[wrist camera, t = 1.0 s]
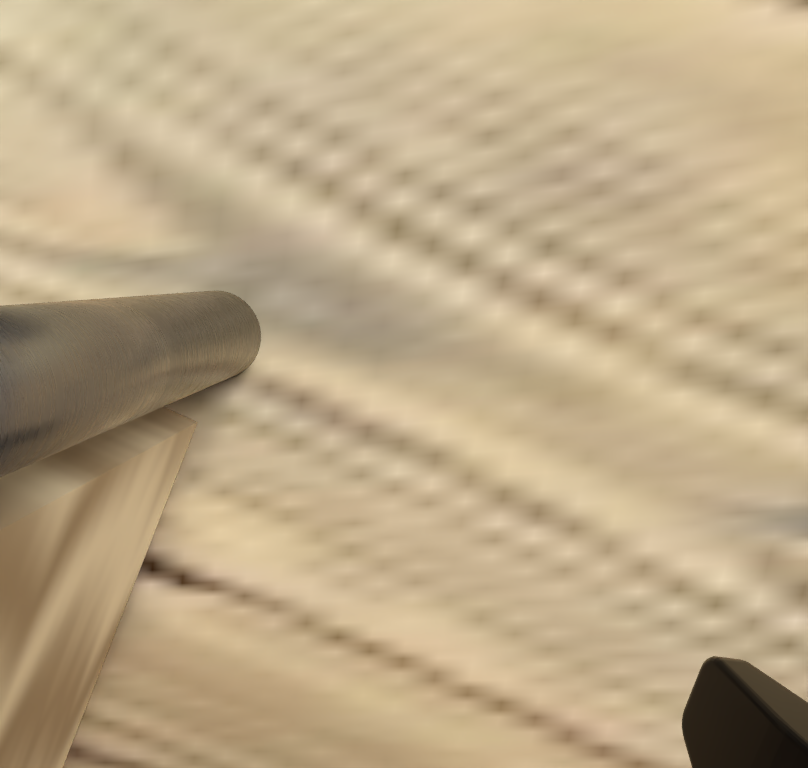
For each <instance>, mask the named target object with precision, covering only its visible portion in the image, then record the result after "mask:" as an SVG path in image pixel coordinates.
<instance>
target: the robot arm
mask: <svg viewBox="0 0 808 768" xmlns="http://www.w3.org/2000/svg"><path fill="white" fill-rule="evenodd" d="M682 730H683V736H684V740H685V744H686V747H687V751H688V754H689V758H690V761H691V765H692V768H808V702H806V701H805V700H803V699H802V698H800V697H799V696H797V695H796V694H794V693H793V692H791V691H790V690H788V689H787V688H785V687H784V686H782V685H781V684H779V683H778V682H776V681H775V680H774V679H772V678H771V677H769V676H768V675H766V674H765V673H763V672H762V671H760V670H759V669H757V668H756V667H754V666H753V665H751V664H750V663H748V662H746V661H743V660H740V659H732V658H724V657H717V656H713V657H710V658H708V659H707V660H706V661H705V662H704V663H703V665H702V667H701V669H700V672H699V674H698V677H697V679H696V682H695V684H694V687H693V689H692V692H691V694H690V697H689V699H688V702H687V704H686V707H685V709H684V713H683V718H682Z"/></svg>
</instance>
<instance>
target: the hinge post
mask: <svg viewBox="0 0 808 768" xmlns="http://www.w3.org/2000/svg"><path fill="white" fill-rule="evenodd" d="M260 341H261V331H260V326H259V322H258V320H257V317H256V315H255V313H254V312H253V310H252V309H251V308H250V306H249V305H248V304H247V303H246V302H245V301H243V300H242V299H241V298H239V297H237V296H236V295H233V294H231V293H228V292H224V291H204V292H190V293H175V294H161V295H147V296H133V297H119V298H105V299H90V300H76V301H62V302H48V303H34V304H20V305H6V306H0V477H3V476H5V475H7V474H10V473H12V472H14V471H16V470H19V469H21V468H23V467H26V466H28V465H30V464H33V463H35V462H37V461H39V460H42V459H44V458H46V457H49V456H51V455H53V454H56V453H58V452H60V451H62V450H65V449H67V448H69V447H72V446H74V445H76V444H79V443H81V442H83V441H85V440H88V439H90V438H92V437H95V436H97V435H99V434H102V433H104V432H106V431H108V430H111V429H113V428H115V427H118V426H120V425H122V424H125V423H127V422H129V421H131V420H134V419H136V418H138V417H141V416H143V415H145V414H148V413H150V412H152V411H154V410H157V409H159V408H161V407H164V406H166V405H168V404H171V403H173V402H175V401H177V400H180V399H182V398H184V397H187V396H189V395H191V394H194V393H196V392H198V391H200V390H203V389H205V388H207V387H210V386H212V385H214V384H217V383H219V382H221V381H223V380H226V379H228V378H230V377H233V376H235V375H237V374H239V373H241V372H243V371H244V370H245V369H246V368H248V367H249V366H250V364H251V363H252V362H253V361H254V359H255V357H256V355H257V353H258V350H259V347H260Z"/></svg>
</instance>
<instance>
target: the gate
mask: <svg viewBox="0 0 808 768" xmlns="http://www.w3.org/2000/svg"><path fill="white" fill-rule="evenodd" d="M196 425H197V422H196V421H194V420H192V419H189V418H187V417H185V416H183V415H180V414H178V413H176V412H174V411H171V410H169V409H167V408H165V407H161V408H159V409H157V410H154V411H152V412H150V413H148V414H145V415H143V416H141V417H138V418H136V419H134V420H131V421H129V422H127V423H125V424H122V425H120V426H118V427H115V428H113V429H111V430H108V431H106V432H104V433H102V434H99V435H97V436H95V437H92V438H90V439H88V440H85V441H83V442H81V443H79V444H76V445H74V446H72V447H69V448H67V449H65V450H62V451H60V452H58V453H56V454H53V455H51V456H49V457H46V458H44V459H42V460H39V461H37V462H35V463H33V464H30V465H28V466H26V467H23V468H21V469H19V470H16V471H14V472H12V473H10V474H7V475H5V476H3V477H0V768H63V765H64V763H65V760H66V758H67V755H68V753H69V750H70V747H71V745H72V742H73V740H74V737H75V735H76V732H77V730H78V727H79V724H80V722H81V719H82V717H83V714H84V712H85V709H86V707H87V704H88V701H89V699H90V696H91V694H92V691H93V689H94V686H95V683H96V681H97V678H98V676H99V673H100V671H101V668H102V666H103V663H104V660H105V658H106V655H107V653H108V650H109V648H110V645H111V643H112V640H113V637H114V635H115V632H116V630H117V627H118V625H119V622H120V620H121V617H122V614H123V612H124V609H125V607H126V604H127V602H128V599H129V596H130V594H131V591H132V589H133V586H134V584H135V581H136V579H137V576H138V573H139V571H140V568H141V566H142V563H143V561H144V558H145V556H146V553H147V550H148V548H149V545H150V543H151V540H152V538H153V535H154V532H155V530H156V527H157V525H158V522H159V520H160V517H161V515H162V512H163V509H164V507H165V504H166V502H167V499H168V497H169V494H170V492H171V489H172V486H173V484H174V481H175V479H176V476H177V474H178V471H179V468H180V466H181V463H182V461H183V458H184V456H185V453H186V451H187V448H188V445H189V443H190V440H191V438H192V435H193V433H194V430H195V428H196Z"/></svg>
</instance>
